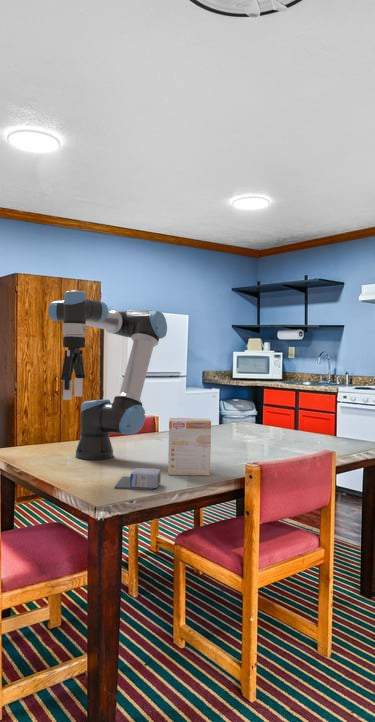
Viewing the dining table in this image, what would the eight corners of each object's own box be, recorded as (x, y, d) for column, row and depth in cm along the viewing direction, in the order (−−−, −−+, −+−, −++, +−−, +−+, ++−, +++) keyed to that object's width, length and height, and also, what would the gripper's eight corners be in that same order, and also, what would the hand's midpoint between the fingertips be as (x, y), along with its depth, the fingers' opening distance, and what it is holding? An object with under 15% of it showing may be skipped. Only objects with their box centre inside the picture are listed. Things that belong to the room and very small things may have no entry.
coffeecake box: (208, 471, 193) (210, 418, 193) (210, 476, 186) (211, 420, 186) (167, 470, 193) (169, 417, 193) (167, 475, 186) (169, 420, 185)
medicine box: (160, 482, 173) (134, 481, 174) (160, 468, 173) (134, 467, 174) (157, 488, 165) (129, 487, 166) (157, 474, 165) (130, 473, 166)
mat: (122, 478, 180) (122, 476, 180) (157, 479, 179) (157, 477, 179) (114, 488, 166) (114, 486, 166) (152, 490, 165) (152, 488, 165)
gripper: (75, 335, 168) (73, 401, 169) (93, 337, 193) (92, 395, 194) (52, 334, 169) (50, 400, 169) (73, 337, 194) (72, 394, 194)
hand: (73, 398), depth 181 cm, fingers open, 13 cm apart
